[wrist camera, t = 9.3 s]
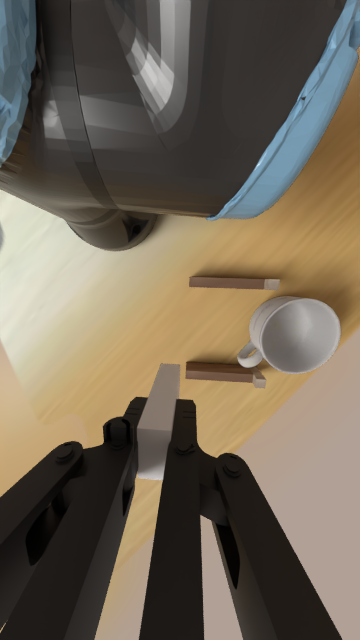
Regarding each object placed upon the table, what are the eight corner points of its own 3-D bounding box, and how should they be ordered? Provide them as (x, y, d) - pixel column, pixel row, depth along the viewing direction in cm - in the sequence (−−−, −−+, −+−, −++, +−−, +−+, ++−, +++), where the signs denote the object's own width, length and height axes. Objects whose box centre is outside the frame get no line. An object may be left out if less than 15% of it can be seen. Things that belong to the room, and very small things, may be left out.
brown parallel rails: (189, 277, 32) (189, 276, 27) (266, 279, 31) (279, 279, 27) (186, 369, 36) (185, 383, 31) (254, 373, 35) (265, 388, 30)
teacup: (298, 284, 31) (333, 285, 23) (314, 342, 33) (352, 361, 25) (218, 313, 33) (226, 324, 25) (237, 367, 35) (251, 392, 27)
